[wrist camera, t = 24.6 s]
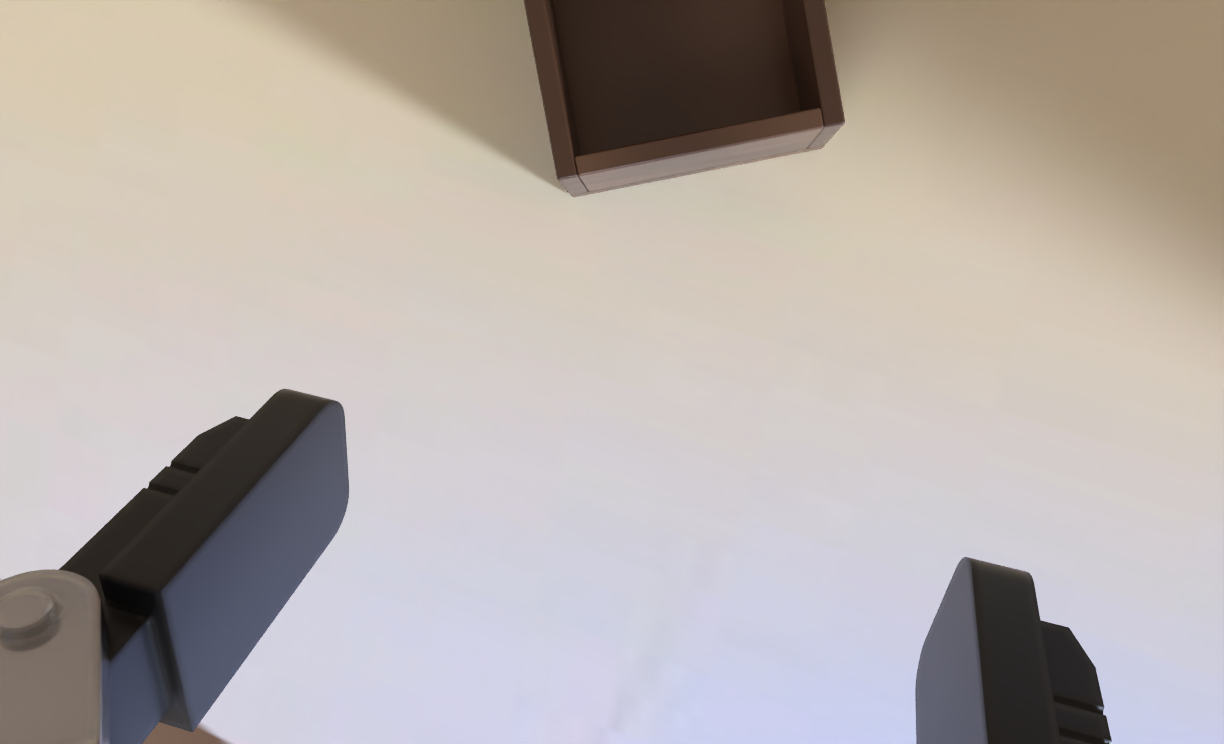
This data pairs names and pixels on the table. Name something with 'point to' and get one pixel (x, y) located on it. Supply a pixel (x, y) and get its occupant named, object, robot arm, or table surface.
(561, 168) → the dark brown open box
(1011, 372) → the table surface
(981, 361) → the table surface
